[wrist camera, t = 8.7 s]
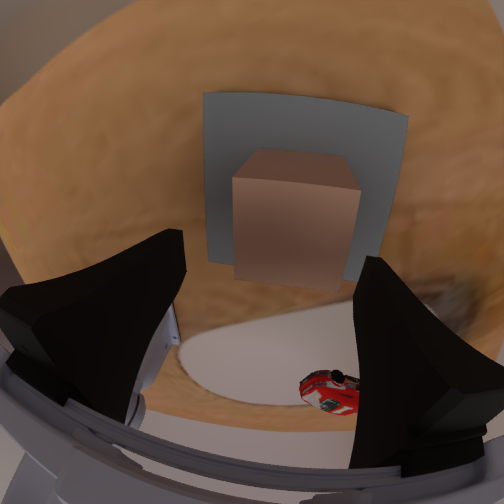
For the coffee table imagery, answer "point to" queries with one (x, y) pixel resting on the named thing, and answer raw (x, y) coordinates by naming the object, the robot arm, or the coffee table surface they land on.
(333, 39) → the coffee table surface
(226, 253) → the charcoal flat pad
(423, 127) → the coffee table surface
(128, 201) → the coffee table surface
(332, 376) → the race car
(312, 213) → the terracotta block
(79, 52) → the coffee table surface
